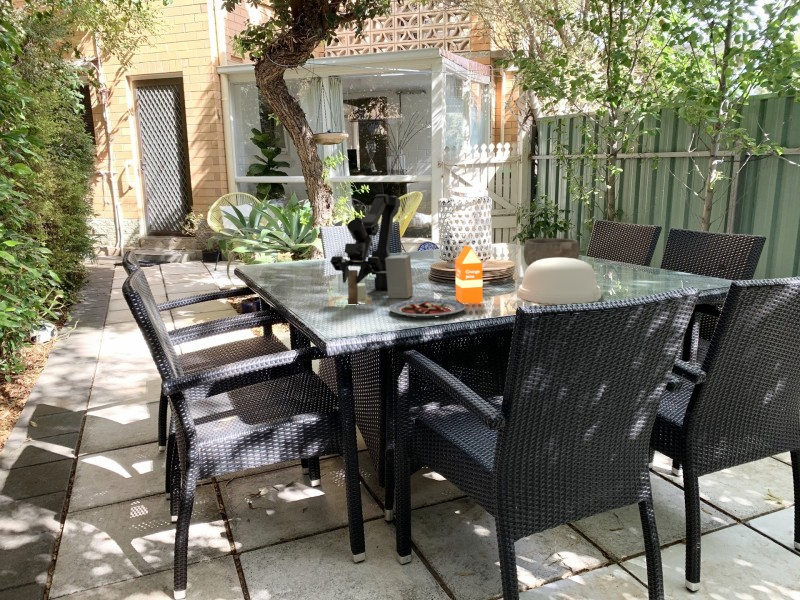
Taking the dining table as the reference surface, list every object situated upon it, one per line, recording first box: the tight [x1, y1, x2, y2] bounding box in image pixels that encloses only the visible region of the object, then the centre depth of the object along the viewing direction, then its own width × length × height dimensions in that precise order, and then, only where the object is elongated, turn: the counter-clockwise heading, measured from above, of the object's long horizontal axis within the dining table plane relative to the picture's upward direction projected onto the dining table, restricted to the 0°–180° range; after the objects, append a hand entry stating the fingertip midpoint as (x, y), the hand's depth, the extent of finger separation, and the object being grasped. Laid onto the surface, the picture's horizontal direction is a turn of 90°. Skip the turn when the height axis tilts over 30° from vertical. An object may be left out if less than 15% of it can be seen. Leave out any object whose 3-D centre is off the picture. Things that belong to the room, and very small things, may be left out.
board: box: [327, 294, 373, 308], centre depth 232 cm, size 16×18×1 cm
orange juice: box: [455, 244, 484, 304], centre depth 224 cm, size 8×9×20 cm
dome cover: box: [517, 258, 602, 305], centre depth 230 cm, size 32×30×14 cm
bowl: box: [523, 237, 580, 268], centre depth 280 cm, size 24×24×15 cm
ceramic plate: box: [388, 298, 466, 318], centre depth 211 cm, size 26×26×3 cm
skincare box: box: [385, 254, 414, 299], centre depth 236 cm, size 8×7×16 cm
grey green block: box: [358, 282, 367, 299], centre depth 237 cm, size 6×6×5 cm
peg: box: [347, 269, 359, 304], centre depth 226 cm, size 3×3×12 cm
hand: (350, 282), depth 224 cm, fingers open, 5 cm apart
